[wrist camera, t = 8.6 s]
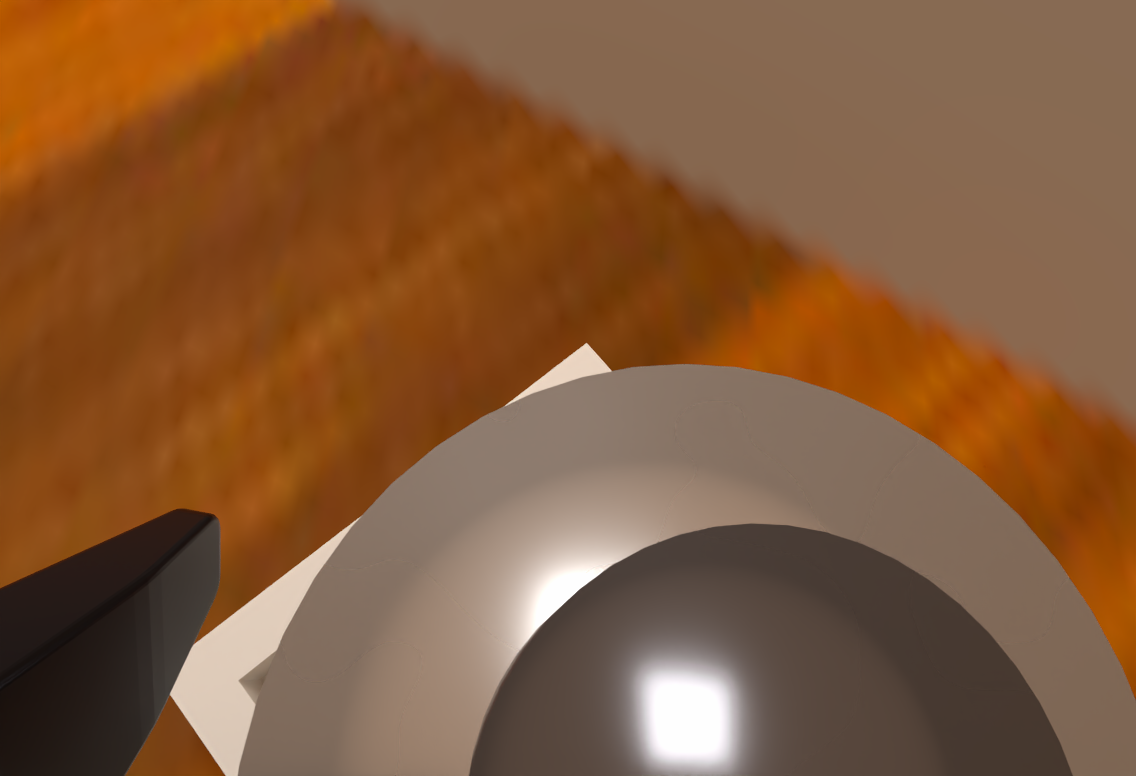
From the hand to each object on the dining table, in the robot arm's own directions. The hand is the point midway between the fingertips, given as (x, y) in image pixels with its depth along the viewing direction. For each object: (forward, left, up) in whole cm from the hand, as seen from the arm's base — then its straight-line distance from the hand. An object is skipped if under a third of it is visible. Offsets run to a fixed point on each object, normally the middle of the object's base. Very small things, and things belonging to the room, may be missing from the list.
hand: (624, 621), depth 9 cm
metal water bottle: (-1, -1, -8) cm, 8 cm away
